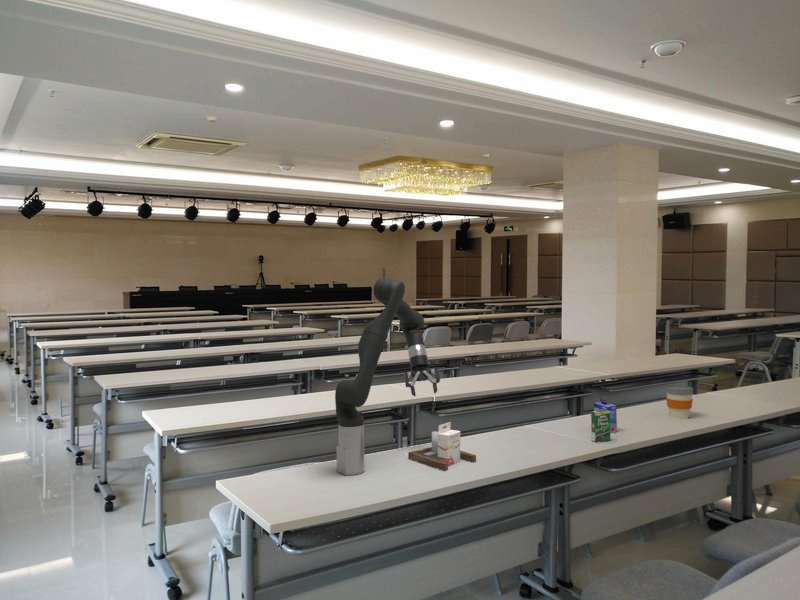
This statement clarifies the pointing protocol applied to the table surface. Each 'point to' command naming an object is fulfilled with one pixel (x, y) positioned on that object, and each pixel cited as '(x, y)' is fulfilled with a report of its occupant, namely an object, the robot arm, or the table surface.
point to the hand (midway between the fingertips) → (425, 394)
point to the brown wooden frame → (436, 463)
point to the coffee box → (600, 425)
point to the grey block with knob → (433, 446)
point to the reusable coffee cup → (679, 400)
